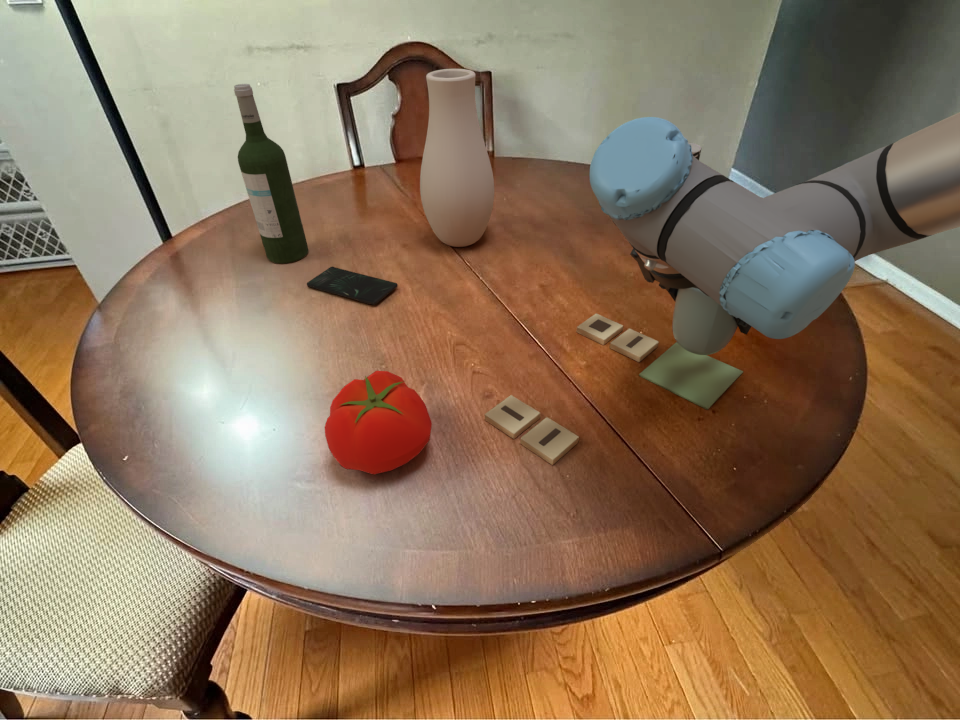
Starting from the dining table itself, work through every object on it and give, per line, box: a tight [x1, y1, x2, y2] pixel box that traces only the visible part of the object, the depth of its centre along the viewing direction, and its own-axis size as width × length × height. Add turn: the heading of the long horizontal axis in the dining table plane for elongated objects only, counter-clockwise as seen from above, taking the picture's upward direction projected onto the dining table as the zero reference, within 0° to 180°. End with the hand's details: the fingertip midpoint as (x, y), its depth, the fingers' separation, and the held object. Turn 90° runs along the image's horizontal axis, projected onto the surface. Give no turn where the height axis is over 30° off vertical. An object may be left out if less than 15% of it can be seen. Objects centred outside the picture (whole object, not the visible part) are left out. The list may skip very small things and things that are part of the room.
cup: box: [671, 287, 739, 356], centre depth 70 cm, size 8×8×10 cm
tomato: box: [324, 370, 433, 475], centre depth 64 cm, size 13×12×8 cm
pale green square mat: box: [575, 313, 744, 411], centre depth 79 cm, size 22×10×1 cm, turn 45°
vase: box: [419, 68, 495, 248], centre depth 100 cm, size 14×14×30 cm
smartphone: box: [306, 266, 399, 306], centre depth 96 cm, size 7×1×15 cm
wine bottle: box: [233, 83, 309, 265], centre depth 98 cm, size 8×8×30 cm
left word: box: [483, 394, 580, 466], centre depth 68 cm, size 11×5×1 cm, turn 45°
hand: (716, 311), depth 72 cm, fingers closed on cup, 8 cm apart
